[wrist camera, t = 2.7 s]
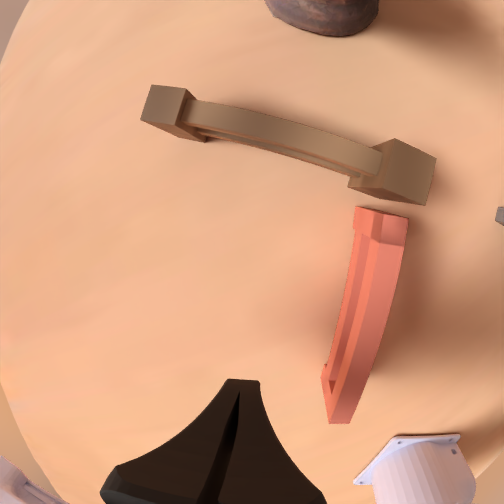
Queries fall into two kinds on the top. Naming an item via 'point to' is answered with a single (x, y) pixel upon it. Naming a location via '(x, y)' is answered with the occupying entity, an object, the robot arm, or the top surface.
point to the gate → (363, 309)
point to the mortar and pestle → (326, 14)
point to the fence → (298, 144)
